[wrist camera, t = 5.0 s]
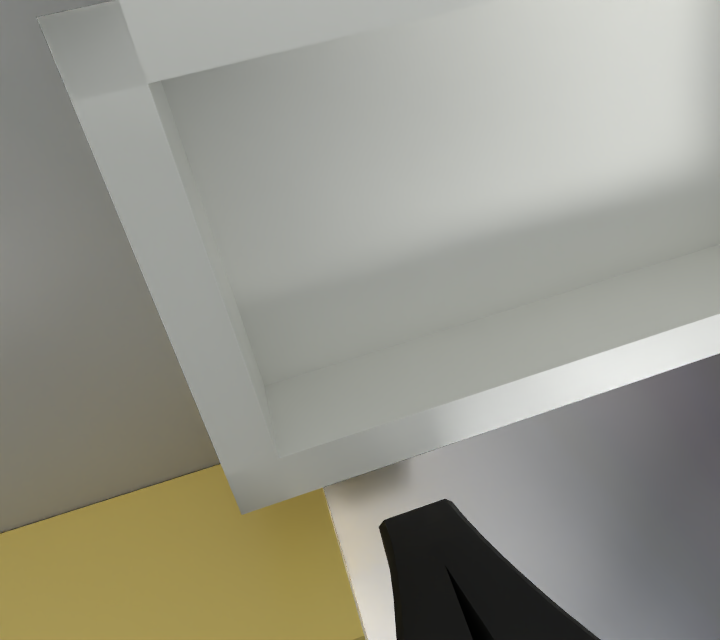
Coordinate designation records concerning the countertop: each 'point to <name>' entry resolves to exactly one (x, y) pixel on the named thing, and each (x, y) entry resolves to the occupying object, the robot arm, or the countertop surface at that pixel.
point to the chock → (179, 569)
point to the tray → (405, 210)
